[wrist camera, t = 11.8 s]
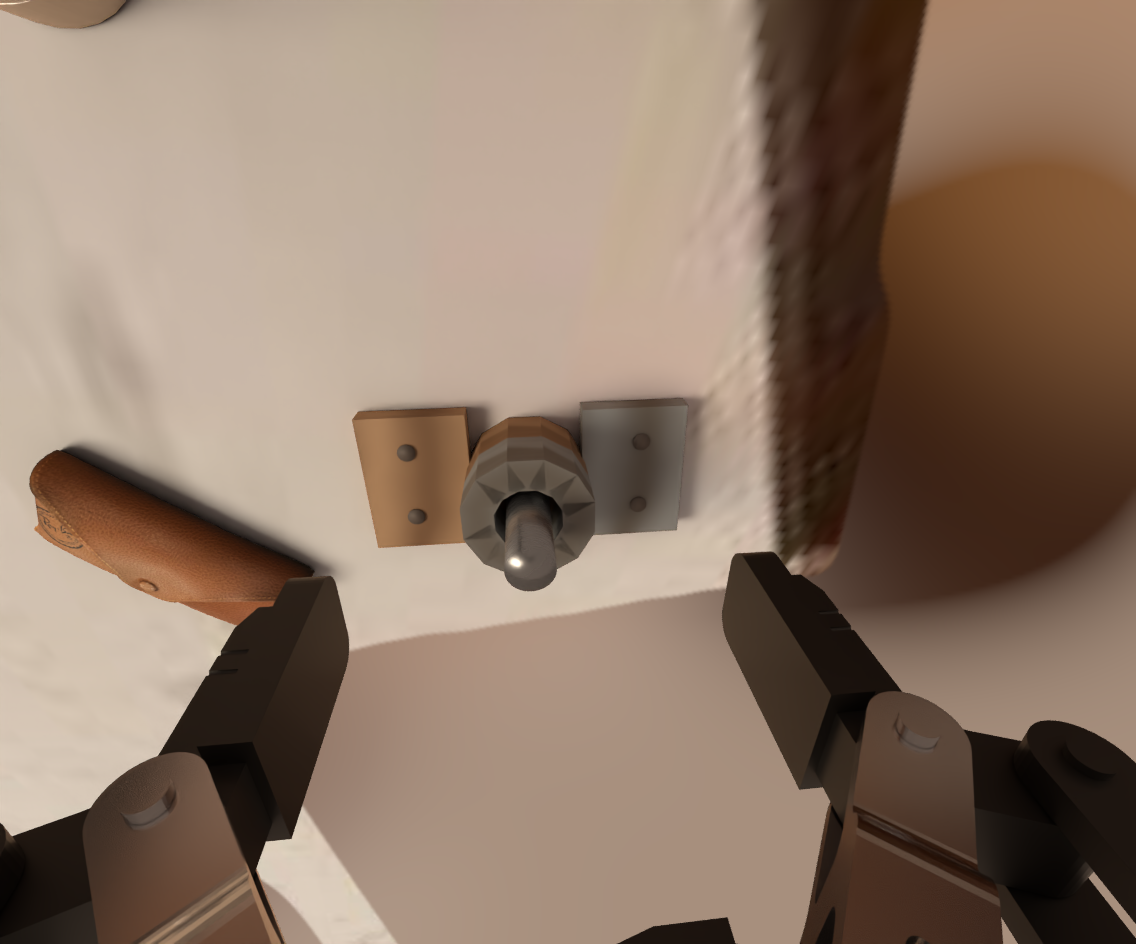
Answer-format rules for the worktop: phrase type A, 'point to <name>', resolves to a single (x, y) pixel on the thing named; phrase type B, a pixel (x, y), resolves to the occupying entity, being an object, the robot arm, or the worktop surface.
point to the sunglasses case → (155, 542)
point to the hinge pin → (529, 541)
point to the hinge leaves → (522, 474)
